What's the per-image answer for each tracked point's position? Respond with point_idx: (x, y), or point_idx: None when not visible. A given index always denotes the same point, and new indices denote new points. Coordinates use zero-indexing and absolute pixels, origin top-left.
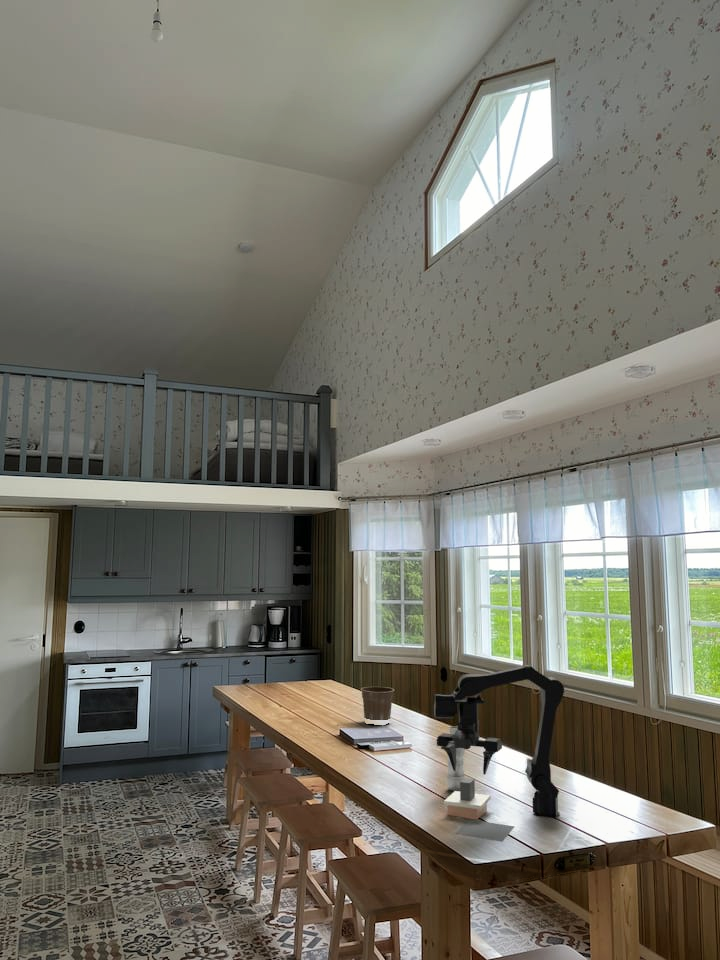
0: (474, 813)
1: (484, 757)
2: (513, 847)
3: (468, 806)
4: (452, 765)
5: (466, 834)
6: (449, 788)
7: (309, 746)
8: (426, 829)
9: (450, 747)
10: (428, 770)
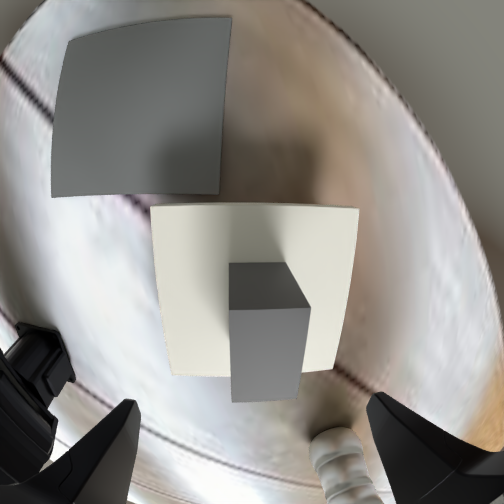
0: None
1: (62, 501)
2: (47, 43)
3: (223, 203)
4: (406, 410)
5: (188, 25)
6: (347, 428)
7: (501, 421)
8: (349, 52)
9: (490, 502)
10: (384, 469)
